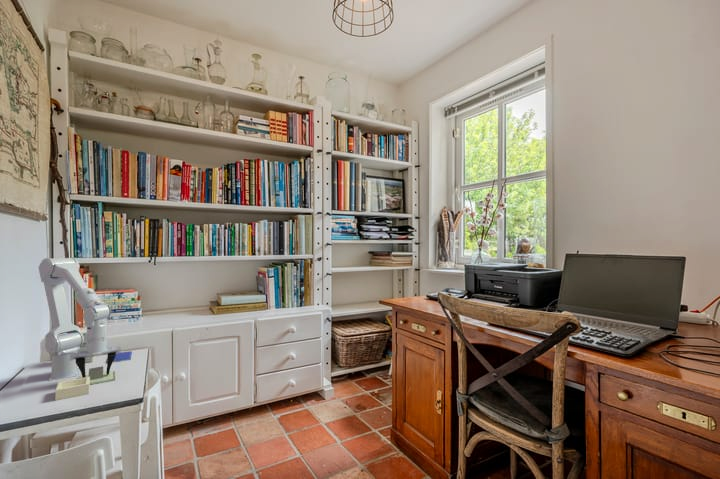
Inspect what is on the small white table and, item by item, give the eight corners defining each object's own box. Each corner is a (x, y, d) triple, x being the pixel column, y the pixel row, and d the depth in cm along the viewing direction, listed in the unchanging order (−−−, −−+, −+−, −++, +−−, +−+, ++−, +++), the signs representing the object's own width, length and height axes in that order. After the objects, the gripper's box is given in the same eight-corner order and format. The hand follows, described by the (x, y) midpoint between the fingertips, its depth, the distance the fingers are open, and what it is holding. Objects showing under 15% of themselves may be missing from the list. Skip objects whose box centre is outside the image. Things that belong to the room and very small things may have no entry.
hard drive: (109, 354, 147) (106, 362, 137) (132, 350, 151) (130, 358, 141) (109, 357, 147) (106, 366, 136) (131, 354, 151) (130, 362, 141)
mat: (77, 379, 121) (77, 377, 121) (114, 372, 128) (114, 371, 128) (74, 389, 113) (74, 388, 113) (115, 381, 119) (115, 380, 119)
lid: (78, 378, 121) (79, 368, 121) (113, 371, 127) (113, 362, 127) (76, 387, 113) (76, 376, 113) (113, 380, 119) (113, 370, 119)
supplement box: (70, 364, 137) (70, 333, 137) (77, 359, 143) (77, 329, 144) (92, 362, 140) (93, 331, 140) (98, 356, 146) (98, 327, 147)
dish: (58, 392, 110) (58, 382, 110) (89, 386, 115) (90, 376, 115) (55, 401, 103) (55, 390, 103) (88, 394, 108) (88, 384, 108)
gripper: (69, 344, 113) (68, 384, 113) (121, 337, 122) (121, 375, 121) (71, 339, 119) (70, 378, 118) (121, 333, 127) (120, 369, 127)
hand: (96, 376), depth 120 cm, fingers open, 6 cm apart
